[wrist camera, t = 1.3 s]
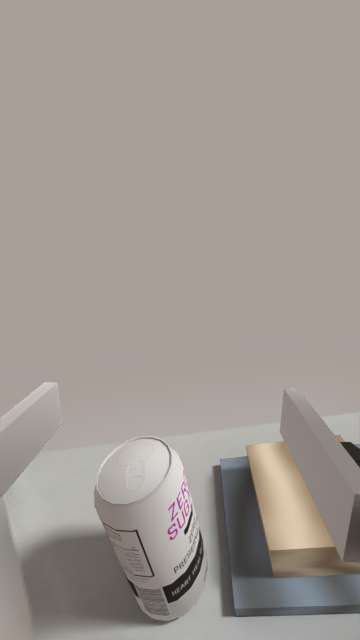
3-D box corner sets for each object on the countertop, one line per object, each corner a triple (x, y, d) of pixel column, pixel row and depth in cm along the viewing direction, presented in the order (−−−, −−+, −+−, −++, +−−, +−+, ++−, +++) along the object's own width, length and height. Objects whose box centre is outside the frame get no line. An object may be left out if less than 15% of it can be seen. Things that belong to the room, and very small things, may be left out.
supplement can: (134, 541, 31) (95, 445, 26) (199, 519, 32) (172, 422, 27) (133, 639, 23) (79, 527, 19) (219, 607, 24) (187, 491, 20)
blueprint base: (363, 450, 36) (363, 420, 34) (484, 609, 21) (494, 568, 19) (221, 465, 38) (215, 438, 37) (236, 616, 23) (227, 581, 22)
